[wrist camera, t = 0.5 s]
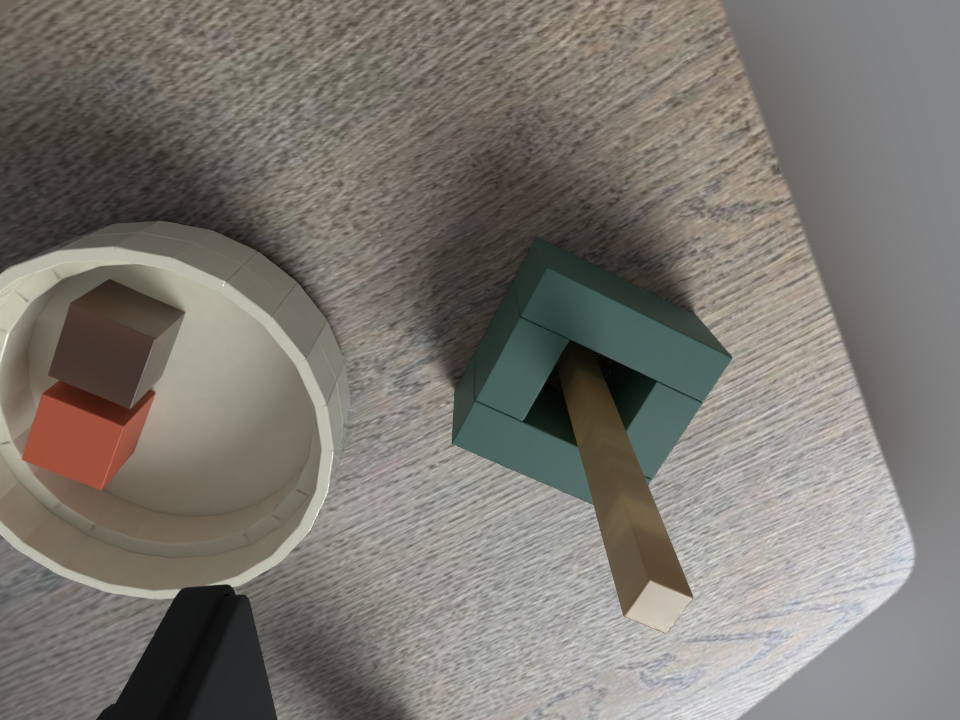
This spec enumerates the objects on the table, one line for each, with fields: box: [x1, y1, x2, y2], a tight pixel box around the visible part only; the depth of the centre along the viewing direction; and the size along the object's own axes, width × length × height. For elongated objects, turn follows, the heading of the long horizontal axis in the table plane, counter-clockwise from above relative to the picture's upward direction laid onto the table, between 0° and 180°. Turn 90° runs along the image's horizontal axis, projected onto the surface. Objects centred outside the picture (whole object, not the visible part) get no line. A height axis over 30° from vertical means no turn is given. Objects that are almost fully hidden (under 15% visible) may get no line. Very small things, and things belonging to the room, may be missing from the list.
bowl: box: [0, 221, 351, 599], centre depth 38 cm, size 18×18×6 cm
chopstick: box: [556, 339, 693, 633], centre depth 31 cm, size 2×2×20 cm
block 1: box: [48, 279, 185, 409], centre depth 37 cm, size 4×4×4 cm
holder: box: [452, 237, 732, 504], centre depth 38 cm, size 10×10×6 cm
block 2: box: [22, 380, 156, 490], centre depth 39 cm, size 4×4×4 cm
